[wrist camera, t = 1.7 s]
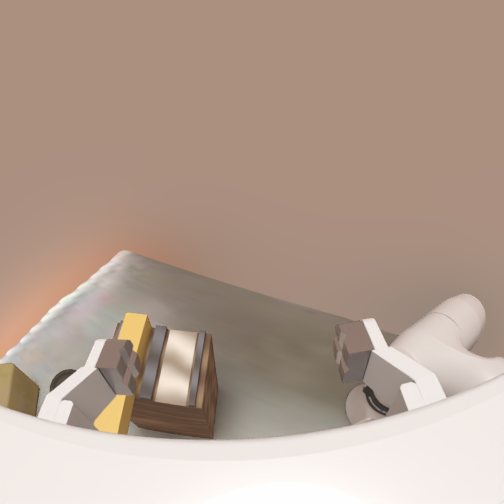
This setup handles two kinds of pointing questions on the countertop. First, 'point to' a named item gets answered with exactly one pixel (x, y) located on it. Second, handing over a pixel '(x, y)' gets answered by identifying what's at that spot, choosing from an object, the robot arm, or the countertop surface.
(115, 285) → the countertop surface
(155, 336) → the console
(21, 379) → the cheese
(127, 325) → the lever bar
